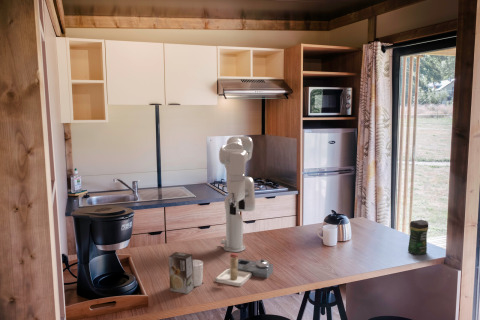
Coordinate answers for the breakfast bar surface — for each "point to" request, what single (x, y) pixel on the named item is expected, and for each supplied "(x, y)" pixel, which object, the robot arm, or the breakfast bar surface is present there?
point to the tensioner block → (256, 267)
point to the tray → (241, 279)
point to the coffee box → (181, 272)
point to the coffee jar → (418, 237)
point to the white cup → (197, 272)
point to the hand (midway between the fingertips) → (237, 211)
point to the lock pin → (233, 266)
